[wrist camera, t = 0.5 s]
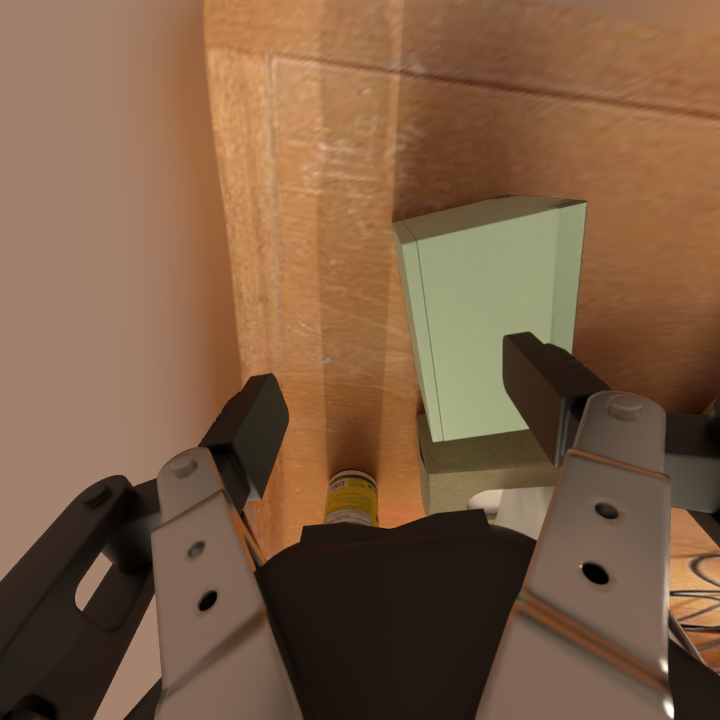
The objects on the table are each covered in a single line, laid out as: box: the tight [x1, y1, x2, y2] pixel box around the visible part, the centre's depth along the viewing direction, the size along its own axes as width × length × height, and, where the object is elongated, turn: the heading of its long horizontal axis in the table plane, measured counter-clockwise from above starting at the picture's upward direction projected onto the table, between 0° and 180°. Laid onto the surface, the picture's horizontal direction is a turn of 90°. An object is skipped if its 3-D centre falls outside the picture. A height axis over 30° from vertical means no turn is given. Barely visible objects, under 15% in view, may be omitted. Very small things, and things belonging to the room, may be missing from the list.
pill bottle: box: [323, 470, 379, 527], centre depth 35 cm, size 6×6×11 cm
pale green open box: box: [392, 195, 588, 442], centre depth 23 cm, size 14×9×10 cm, turn 13°
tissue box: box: [416, 413, 562, 540], centre depth 29 cm, size 19×10×16 cm, turn 98°
